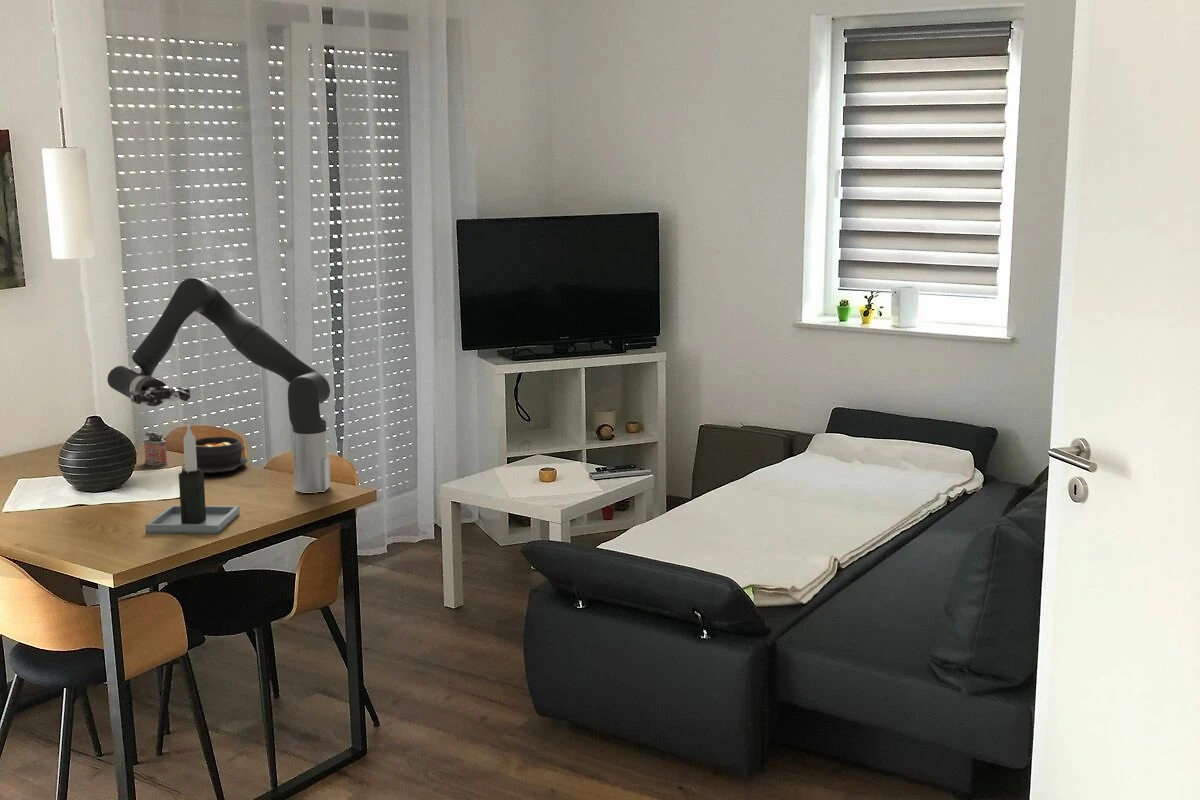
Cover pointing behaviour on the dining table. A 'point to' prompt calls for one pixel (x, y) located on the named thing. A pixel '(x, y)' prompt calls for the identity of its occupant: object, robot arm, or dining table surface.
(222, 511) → the tray
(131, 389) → the robot arm
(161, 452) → the lighter
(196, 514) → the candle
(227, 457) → the casserole
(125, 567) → the dining table surface
